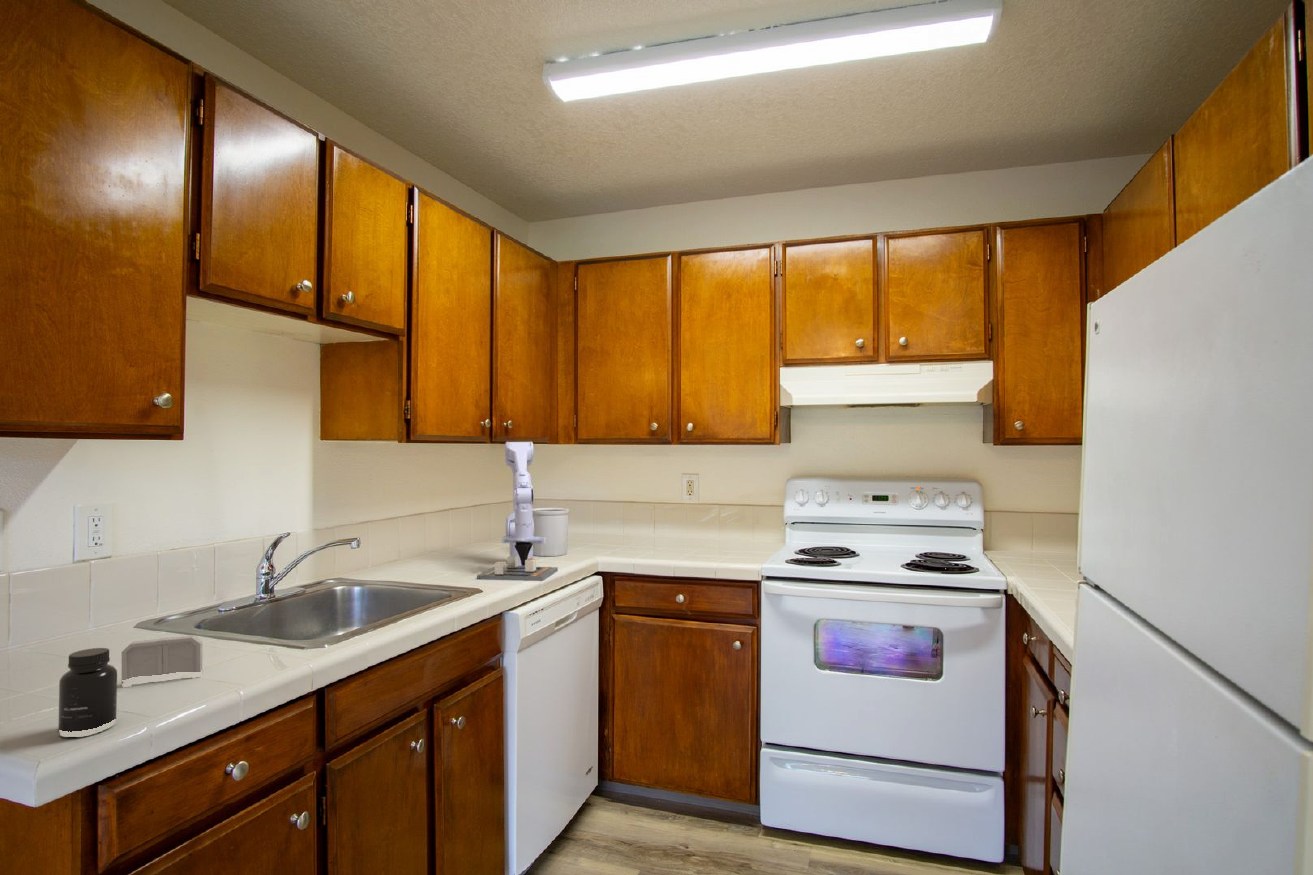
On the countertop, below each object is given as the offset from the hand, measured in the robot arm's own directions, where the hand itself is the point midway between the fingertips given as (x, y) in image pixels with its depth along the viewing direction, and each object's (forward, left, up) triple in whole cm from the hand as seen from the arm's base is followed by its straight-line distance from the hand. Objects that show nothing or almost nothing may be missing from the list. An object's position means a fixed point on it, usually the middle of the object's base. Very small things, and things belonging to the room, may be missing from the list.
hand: (523, 565), depth 218 cm
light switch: (+101, -34, -4) cm, 107 cm away
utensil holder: (-41, -4, -4) cm, 41 cm away
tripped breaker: (0, +2, -2) cm, 3 cm away
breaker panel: (0, -2, -3) cm, 4 cm away
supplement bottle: (+121, -27, -4) cm, 124 cm away
